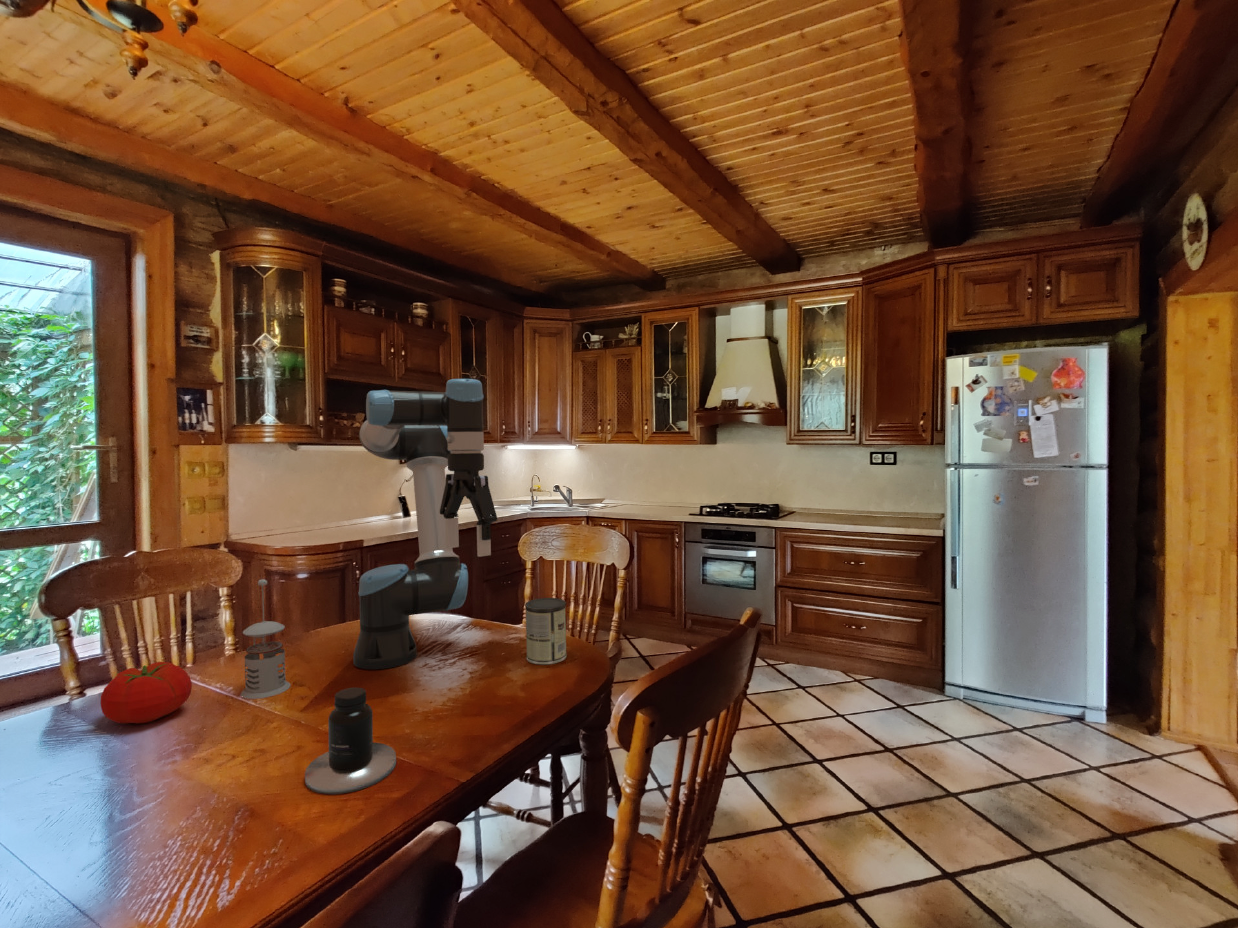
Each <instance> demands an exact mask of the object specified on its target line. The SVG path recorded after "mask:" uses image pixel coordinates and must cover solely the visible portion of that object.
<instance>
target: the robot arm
mask: <svg viewBox="0 0 1238 928" xmlns="http://www.w3.org/2000/svg"><path fill="white" fill-rule="evenodd" d="M445 384H446V385H445V386H446V387H445V392H444V391H414V390H413V391H410V390H388V389H380V390H370V391H368V393H367V394H366V400H365V414H366V420H365V421H364V422H363V423H362V424H361V426H360V429H359V432H358V433H359V434H358V438H359V441H360V443H361V446H362V448H364V449H365V450H366V451H367V452H369V453H370V454H372V455H374V456H376V457H379V458H381V459H386V460H390V461H392V460H396V461H401V460H402V461H405V465H406V467H407V469H409V470H410V471H411V472H412V475H413V478H412V479H413V488H414V489H413V490H414V491H413V492H414V500H415V502H414V503H415V514H416V524H417V525H416V526H417V527H416V528H417V537H418V538H417V539H418V548H419V549H418V550H419V552H418V553H419V557H418V558H417V559H416V560H415V561H414V563H413V564H414V569H413V568H412V569H409V566H408V565H407V564H404V563H398V564H388V565H382V566H379V567H375V568H373V569H370V570H367V571H366V572H364V573H363V574H362V575H360V578H359V586H358V587H359V588H358V589H359V590H358V596H359V626H360V627H359V630H360V631H359V634H358V637H357V642H356V644H355V648H354V652H353V655H352V658H353V665H354V666H355V667H356V668H358V669H359V668H360V669H363V670H384V669H389V668H395V667H399V666H402V665H405V664H406V665H407V664H409V663H410V662H412V661H414V660H415V659H417V656H418V650H417V649H418V647H417V644H416V641H415V638H414V636H413V633H412V631H411V628H410V619H409V618H410V616H413V615H414V616H415V615H421V614H430V613H435V612H442V611H443V612H447V611H451V610H457V609H459V608H461V607H463V605H464V603H465V601H466V599H467V594H468V588H469V587H468V586H469V572H468V567H467V565H466V563H461V562H460V556H459V555H457V554H456V552H454V551H453V548H454V549H455V548H459V547H460V545H459V544H460V543H459V542H460V541H459V539H460V538H459V537H460V536H459V535H460V534H459V516H460V515H459V514H458V512H459V510H460V507H461V505H462V502H463V501H464V498H466V499H468V500H469V501H470V504H471V506H472V509H473V511H474V514H475V516H476V518H477V523H476V541H477V542H476V550H477V557H486V556H487V557H488V556H492V551H491V550H492V549H491V547H492V545H491V542H492V540H491V539H492V538H491V537H492V536H491V535H492V532H491V530H492V529H491V525H492V524H493V523H494V522H497V521H498V516H497V512H496V508H495V505H494V501H493V497H492V494H491V491H490V486H489V477H488V475H480V474H479V473H480V471H483V470H484V469H485V454H484V453H482V451H484V450H485V443H484V442H485V441H484V439H485V437H484V396H485V395H484V391H483V384H482V382H481V381H480V380H479V379H473V378H452V379H449V380H447V382H446V383H445ZM446 468H447V470H448V471H450V472H453V473H447V474H446V470H445V469H446Z"/></svg>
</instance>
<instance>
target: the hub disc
mask: <svg viewBox="0 0 1238 928" xmlns="http://www.w3.org/2000/svg"><path fill="white" fill-rule="evenodd" d="M396 765H397V755H396V751H395V749H394V748H393V747H391V746H390V745H388V744H386V743H381V742H373V757H372V759H371V761H370V762H369V763H368V764H367V765H366V766H364V767H363V768H360V769H358V770H355V771H351V772H337V771H334V770H332V769H331V768H330V766H329V750H328V751H327V752H324V753H322V754H320V755H319V756H318V757H316V758H315V759H314V760H312V761H311V762H310V764H308V766H307V767H306V768H305V771H304V781H305V782H304V784H305V785H306V788H308V789H309V790H310V791H312V792H314V793H316V794H322V795H342V794H343V795H344V794H350V793H353V792H358V791H361V790H364V789H366V788H367V789H368V788H370V787H372V786H374V785H375V784H378V783H380V782H382V781H383V780H384V779H385V778H387V777H388V776H389V775H390V774H391V773H392V772H393V771H394V770H395V767H396Z"/></svg>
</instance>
